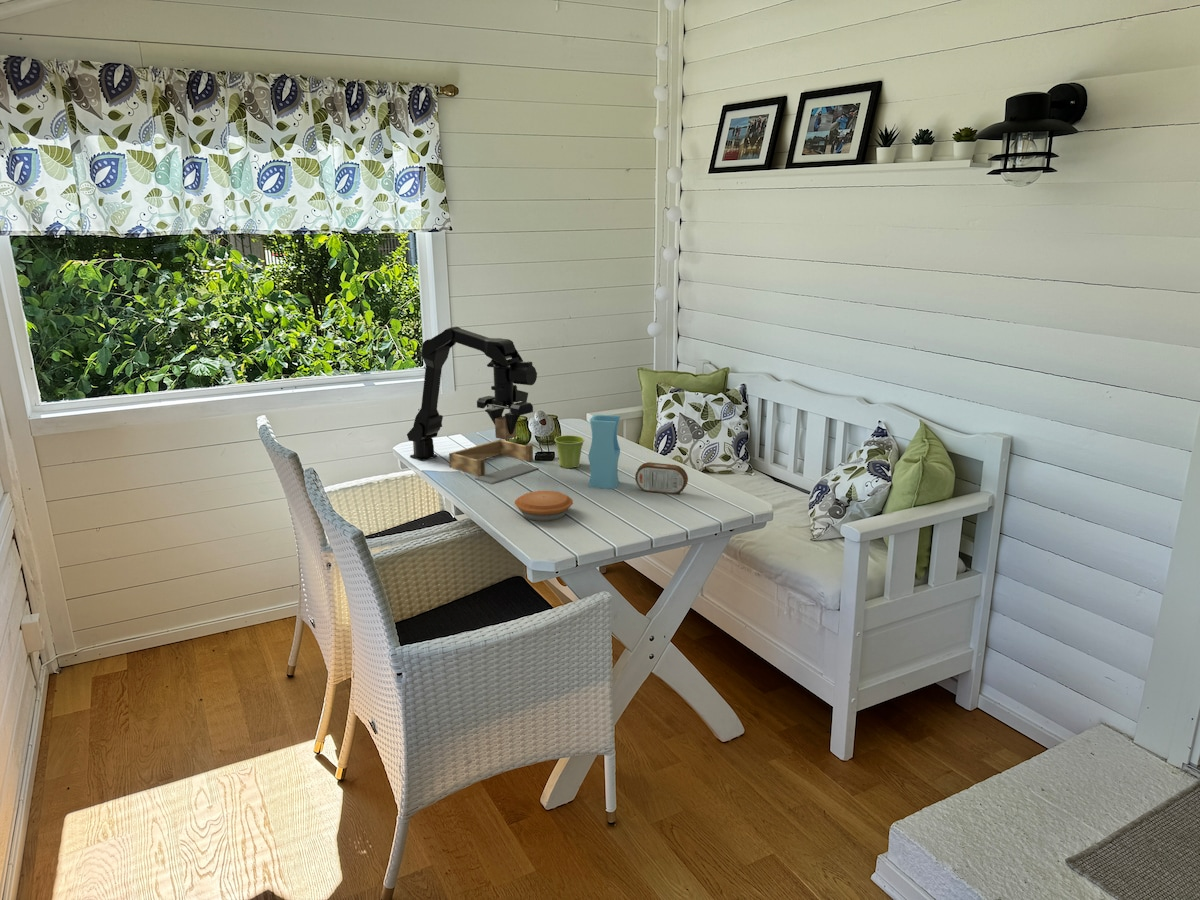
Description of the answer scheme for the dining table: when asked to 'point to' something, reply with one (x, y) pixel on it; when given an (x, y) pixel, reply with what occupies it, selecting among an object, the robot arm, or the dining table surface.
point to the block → (503, 429)
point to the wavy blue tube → (604, 452)
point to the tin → (661, 478)
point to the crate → (487, 455)
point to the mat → (506, 473)
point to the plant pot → (569, 450)
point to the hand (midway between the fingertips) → (505, 433)
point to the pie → (543, 505)
